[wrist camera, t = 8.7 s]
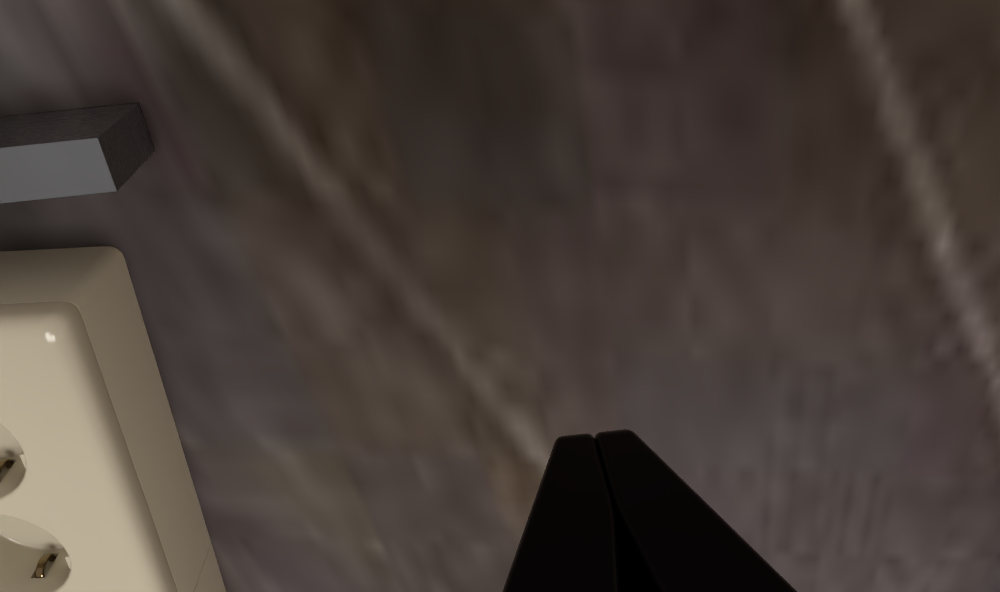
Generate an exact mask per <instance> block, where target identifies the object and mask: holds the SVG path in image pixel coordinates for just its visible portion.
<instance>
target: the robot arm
mask: <svg viewBox="0 0 1000 592" xmlns="http://www.w3.org/2000/svg"><path fill="white" fill-rule="evenodd" d="M503 592H797V591H796V590H795V589H794V588H793V587H792V586H791V585H790V584H789V583H788V582H787V581H786V580H785V579H784V578H783V577H782V576H780V575H779V574H778V573H777V572H776V571H775V570H774V569H773V568H772V567H771V566H770V565H769V564H768V563H767V562H766V561H765V560H764V559H763V558H762V557H761V556H760V555H759V554H758V553H757V552H756V551H755V550H754V549H753V548H752V547H751V546H750V545H749V544H748V543H747V542H746V541H745V540H744V539H743V538H742V537H741V536H740V535H738V534H737V533H736V532H735V531H734V530H733V529H732V528H731V527H730V526H729V525H728V524H727V523H726V522H725V521H724V520H723V519H722V518H721V517H720V516H719V515H718V514H717V513H716V512H715V511H714V510H713V509H712V508H711V507H710V506H709V505H708V504H707V503H706V502H705V501H704V500H703V499H702V498H701V497H700V496H699V495H698V494H696V493H695V492H694V491H693V490H692V489H691V488H690V487H689V486H688V485H687V484H686V483H685V482H684V481H683V480H682V479H681V478H680V477H679V476H678V475H677V474H676V473H675V472H674V471H673V470H672V469H671V468H670V467H669V466H668V465H667V464H666V463H665V462H664V461H663V460H662V459H661V458H660V457H659V456H658V455H657V454H656V453H654V452H653V451H652V450H651V449H650V448H649V447H648V446H647V445H646V444H645V443H644V442H643V441H642V440H641V439H640V438H639V437H638V436H637V435H636V434H635V433H634V432H632V431H630V430H616V431H607V432H599V433H598V434H596V436H595V438H593V436H592V435H590V434H579V435H569V436H561V437H559V438H558V439H557V440H556V441H555V443H554V446H553V449H552V452H551V455H550V458H549V460H548V463H547V466H546V469H545V472H544V475H543V478H542V480H541V483H540V486H539V489H538V492H537V495H536V498H535V500H534V503H533V506H532V509H531V512H530V515H529V517H528V520H527V523H526V526H525V529H524V532H523V535H522V537H521V540H520V543H519V546H518V549H517V552H516V555H515V557H514V560H513V563H512V566H511V569H510V572H509V575H508V577H507V580H506V583H505V586H504V589H503Z"/></svg>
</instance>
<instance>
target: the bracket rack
mask: <svg viewBox="0 0 1000 592" xmlns="http://www.w3.org/2000/svg"><path fill="white" fill-rule="evenodd" d="M153 152H154V149H153V146H152V142H151V139H150V136H149V133H148V130H147V127H146V124H145V121H144V118H143V115H142V112H141V109H140V105H139V103H131V104H122V105H112V106H103V107H93V108H84V109H74V110H64V111H55V112H45V113H36V114H26V115H17V116H7V117H0V203H9V202H19V201H29V200H38V199H48V198H57V197H67V196H77V195H86V194H96V193H105V192H115V191H118V189H119V188H120V187H121V186H122V185H123V184H124V183H125V182H126V181H127V180H128V179H129V178H130V177H131V176H132V175H133V173H134V172H135V171H136V170H137V169H138V168H139V167H140V166H141V165H142V164H143V163H144V162H145V161H146V160H147V159H148V158H149V156H150V155H151V154H152V153H153Z"/></svg>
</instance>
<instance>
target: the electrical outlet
mask: <svg viewBox="0 0 1000 592" xmlns="http://www.w3.org/2000/svg"><path fill="white" fill-rule="evenodd" d="M0 592H226V590H225V586H224V583H223V580H222V577H221V573H220V570H219V567H218V563H217V560H216V557H215V554H214V550H213V547H212V544H211V541H210V537H209V534H208V531H207V527H206V524H205V521H204V518H203V514H202V511H201V508H200V504H199V501H198V498H197V495H196V491H195V488H194V485H193V482H192V478H191V475H190V472H189V468H188V465H187V462H186V459H185V455H184V452H183V449H182V445H181V442H180V439H179V436H178V432H177V429H176V426H175V423H174V419H173V416H172V413H171V409H170V406H169V403H168V400H167V396H166V393H165V390H164V386H163V383H162V380H161V377H160V373H159V370H158V367H157V364H156V360H155V357H154V354H153V350H152V347H151V344H150V341H149V337H148V334H147V331H146V328H145V324H144V321H143V318H142V314H141V311H140V308H139V305H138V301H137V298H136V295H135V291H134V288H133V285H132V282H131V278H130V275H129V272H128V269H127V265H126V262H125V259H124V256H123V254H122V252H120V251H119V250H118V249H117V248H114V247H111V246H100V247H81V248H62V249H42V250H23V251H4V252H0Z"/></svg>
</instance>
